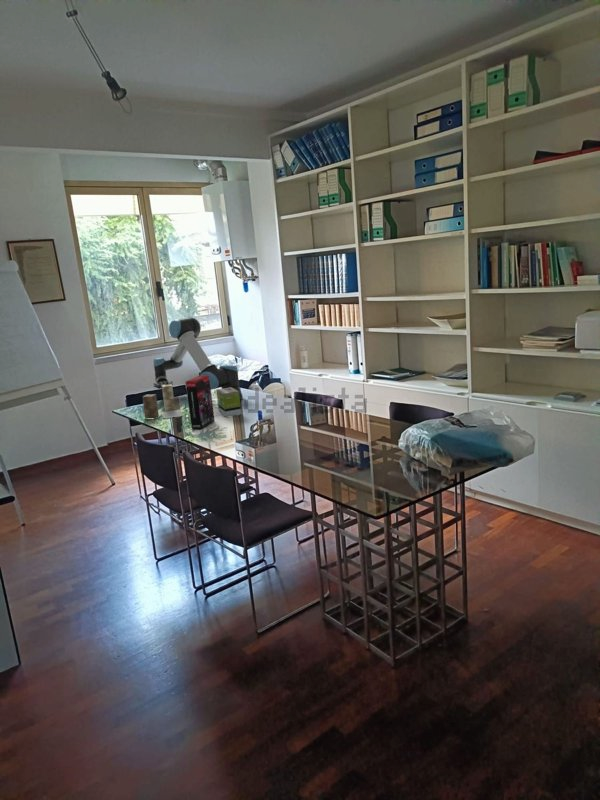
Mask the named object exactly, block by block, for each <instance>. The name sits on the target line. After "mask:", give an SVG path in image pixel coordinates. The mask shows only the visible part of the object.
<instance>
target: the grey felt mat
mask: <svg viewBox="0 0 600 800" xmlns="http://www.w3.org/2000/svg"><path fill="white" fill-rule="evenodd" d="M160 414H161V417H162V419H163V418H168V419H174V418H173V417H175V418H181V416H183V417H184V414H183V413H182V410H181V409H175V410H173V411H160Z"/></svg>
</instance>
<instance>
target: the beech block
mask: <svg viewBox="0 0 600 800" xmlns="http://www.w3.org/2000/svg"><path fill="white" fill-rule="evenodd" d="M161 390H162V397H163V398H162V399H163V405H164V412H166V411H173V410H176V406H175V396H174V389H173V385H172V384H169V385H162V388H161Z"/></svg>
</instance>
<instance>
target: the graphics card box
mask: <svg viewBox="0 0 600 800" xmlns="http://www.w3.org/2000/svg"><path fill="white" fill-rule="evenodd" d="M185 388H186V389H185V390H186V395H187V403H188V409H189V418H190V425H191V429H192V430H203V429H205V428H206V427H207V426H209V425H211V424H213V423H215V421H216V420H215V413H214V405H213V397H212V389H211V388H210V380H209V376H201V375H200V374H199V375H198V376H196V377H193V378H191V379H188V380H186V381H185Z"/></svg>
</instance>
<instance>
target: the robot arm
mask: <svg viewBox="0 0 600 800" xmlns="http://www.w3.org/2000/svg"><path fill="white" fill-rule="evenodd" d="M201 328H202V327H201V323H200V321H198V320H197V319H196V318H194V317H186V318H177V319H173V320H172V321H171V322H170V323H169V326H168V333H169V335H170V337H171V338H174V339H177V340H178V342H179V343H178V345H177V346H176V348H175V350H174V351H173V353H172V355H171V357H170V358H164V357H155V358H154V359H153V369H154V376H155V378H154V379H155V380H154V381H155V382H154V383H153V388H156V389H159V390H162V385H169V384H172V386H174V385H173V384H174V383H173V382H174V381H172V380H171V381H169V380H168V379H167V371H168V370H169V371H170V370H175V369H178V368H182V366H183V362H184V361H183V358H185V355H186V354H187V353H188V354H189V355H190V356H191V358H192V360H193V361H194V363H195V364H196V366H197V368H198V370H199V371H200V372H199V375H200V376H209V380H210V388H211V390H215V389H218V388H221V389H223V388H229V387H232V388H234V389H235V390H237V391H239V395H240V399H241V400H243V399H242V398H244V397H243V393H242V391H241V388H240V382H239V371H238V366H237V365H231V364H230V365H229V364H227V365H226V364H222V365H219V368H218V367H217V364H214V363H212V362H211V360H210V359H209V357H208V355H207V354H206V352H205V351H204V349H203V348H202V346H201V345H200V343H199V342H198V340H197V338H198V337H199V335H200V333H201V330H202V329H201Z"/></svg>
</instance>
